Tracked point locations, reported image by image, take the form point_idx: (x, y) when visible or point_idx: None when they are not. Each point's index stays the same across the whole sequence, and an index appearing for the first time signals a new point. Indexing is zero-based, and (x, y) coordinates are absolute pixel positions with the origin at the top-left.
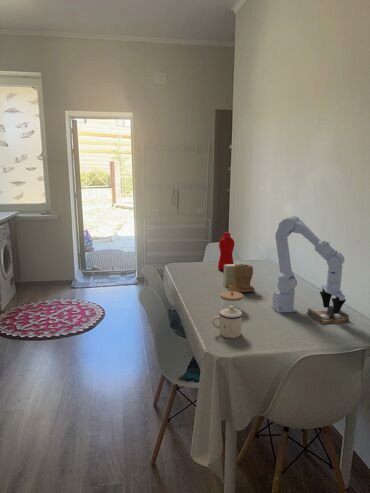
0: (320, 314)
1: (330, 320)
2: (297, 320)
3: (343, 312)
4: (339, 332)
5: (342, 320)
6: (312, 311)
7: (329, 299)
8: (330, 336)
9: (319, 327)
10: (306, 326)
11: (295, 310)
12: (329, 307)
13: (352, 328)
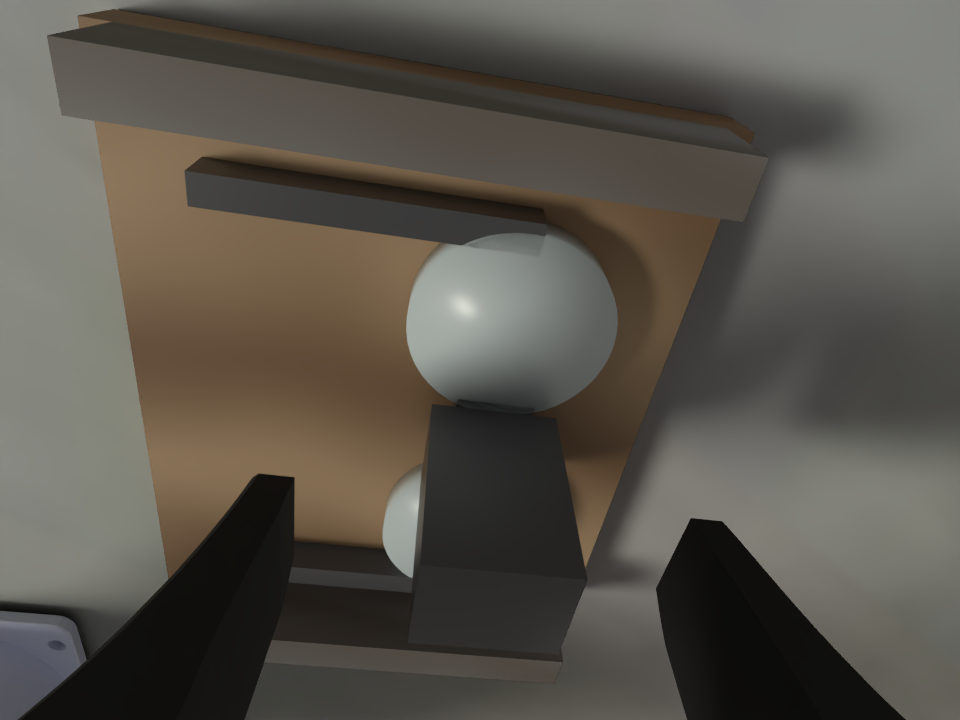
0: (318, 491)
1: (604, 503)
2: (369, 710)
3: (559, 170)
4: (885, 544)
5: (682, 291)
6: (309, 663)
7: (207, 683)
8: (873, 664)
9: (637, 638)
10: (549, 713)
11: (54, 639)
12: (488, 640)
13: (956, 298)
